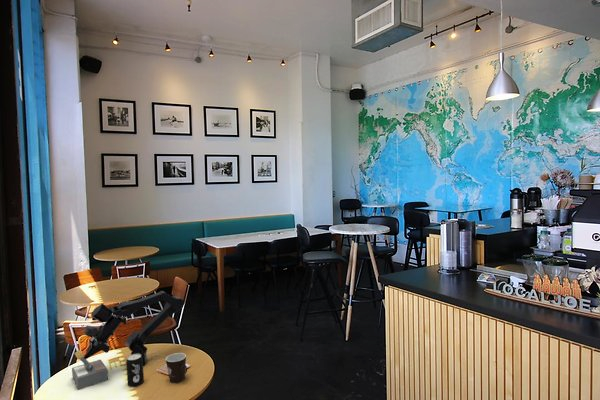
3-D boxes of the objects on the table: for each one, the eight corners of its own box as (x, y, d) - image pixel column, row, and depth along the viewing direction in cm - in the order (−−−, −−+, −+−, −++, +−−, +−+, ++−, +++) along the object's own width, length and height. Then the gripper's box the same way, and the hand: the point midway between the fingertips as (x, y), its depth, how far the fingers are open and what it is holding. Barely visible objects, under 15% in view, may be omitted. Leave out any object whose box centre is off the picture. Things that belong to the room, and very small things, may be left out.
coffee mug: (166, 377, 181) (164, 355, 181) (186, 372, 185) (184, 351, 184) (168, 389, 171) (167, 366, 170) (189, 384, 174) (188, 362, 173)
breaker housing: (101, 369, 191) (100, 359, 191) (108, 380, 181) (107, 368, 180) (72, 378, 184) (71, 367, 183) (78, 389, 173) (77, 378, 173)
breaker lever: (91, 363, 185) (78, 349, 181) (93, 367, 181) (81, 353, 177) (86, 367, 184) (74, 353, 180) (89, 371, 179) (76, 357, 176)
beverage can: (128, 388, 173) (126, 361, 172) (127, 382, 178) (125, 355, 178) (144, 384, 176) (143, 357, 175) (143, 378, 181) (141, 352, 181)
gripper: (90, 313, 190) (65, 343, 184) (99, 324, 175) (73, 357, 169) (109, 325, 195) (86, 354, 189) (120, 336, 181) (95, 368, 175)
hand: (84, 358), depth 181 cm, fingers closed, pressing on breaker lever
